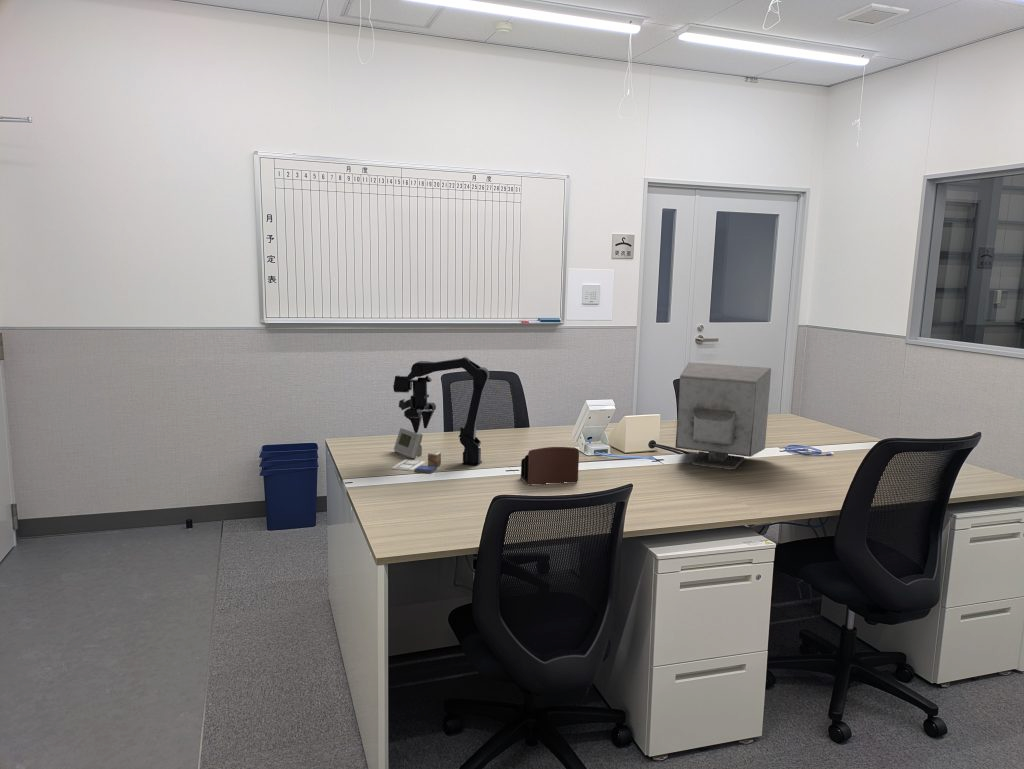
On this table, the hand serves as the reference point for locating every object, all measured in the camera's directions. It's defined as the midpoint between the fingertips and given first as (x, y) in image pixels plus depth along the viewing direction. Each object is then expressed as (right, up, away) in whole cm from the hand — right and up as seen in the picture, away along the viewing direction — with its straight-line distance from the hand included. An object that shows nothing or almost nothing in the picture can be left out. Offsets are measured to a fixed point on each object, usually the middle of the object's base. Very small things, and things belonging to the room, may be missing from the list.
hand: (420, 430), depth 301 cm
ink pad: (+3, -15, -12) cm, 20 cm away
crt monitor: (+123, -15, +11) cm, 125 cm away
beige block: (+6, -14, -5) cm, 16 cm away
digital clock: (-7, -11, +12) cm, 18 cm away
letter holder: (+51, -18, -21) cm, 58 cm away
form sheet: (-4, -14, -6) cm, 16 cm away
